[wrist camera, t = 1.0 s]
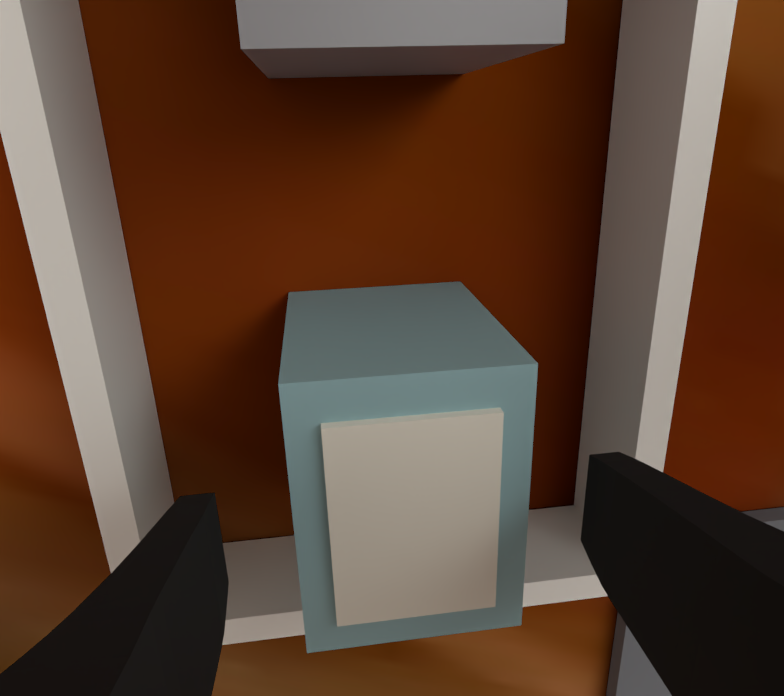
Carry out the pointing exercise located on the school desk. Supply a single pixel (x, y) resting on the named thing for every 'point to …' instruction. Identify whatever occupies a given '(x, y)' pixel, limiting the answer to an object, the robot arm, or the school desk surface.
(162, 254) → the school desk surface
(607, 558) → the robot arm
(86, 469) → the parts bin
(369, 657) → the school desk surface
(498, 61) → the light grey block
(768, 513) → the charcoal mat
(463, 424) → the teal labelled box
